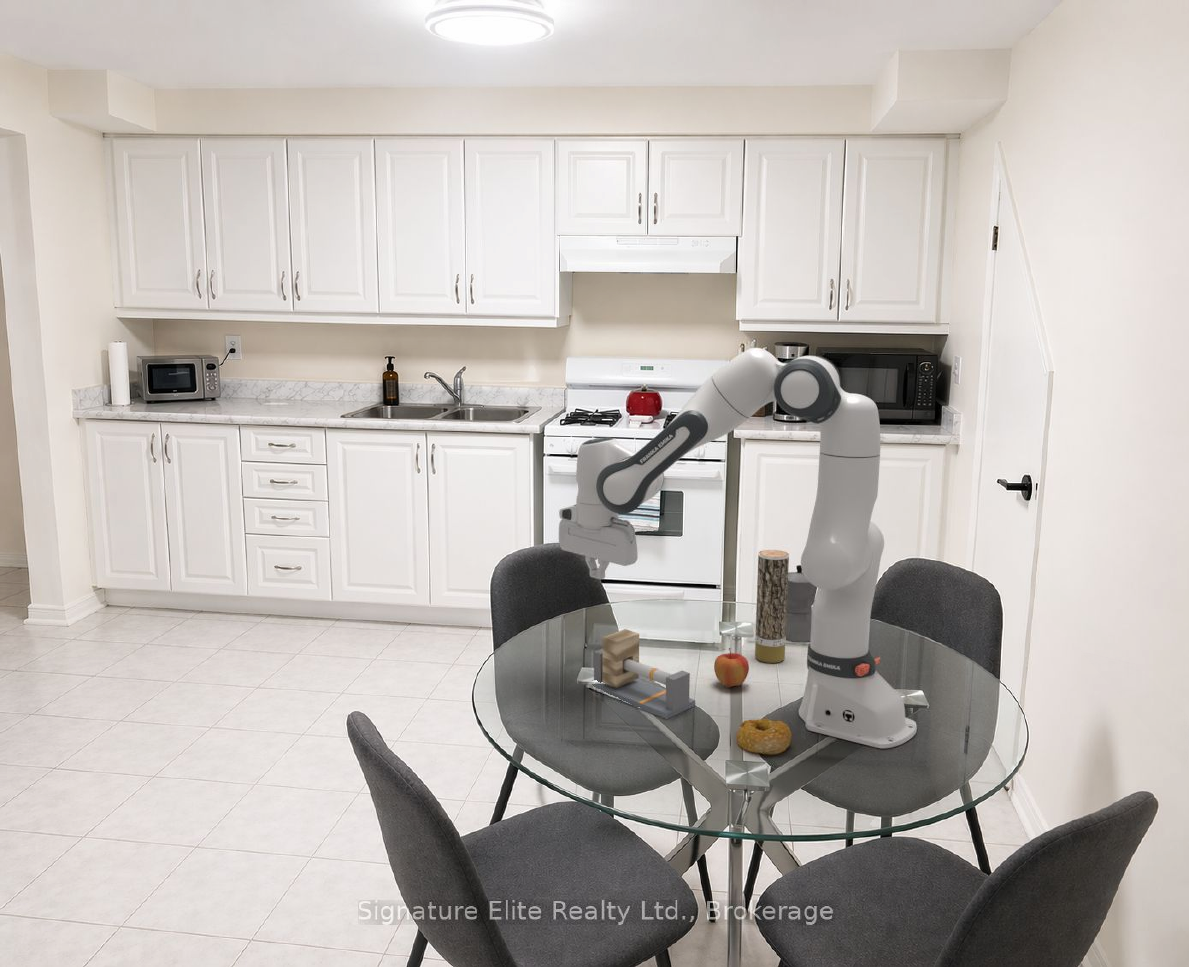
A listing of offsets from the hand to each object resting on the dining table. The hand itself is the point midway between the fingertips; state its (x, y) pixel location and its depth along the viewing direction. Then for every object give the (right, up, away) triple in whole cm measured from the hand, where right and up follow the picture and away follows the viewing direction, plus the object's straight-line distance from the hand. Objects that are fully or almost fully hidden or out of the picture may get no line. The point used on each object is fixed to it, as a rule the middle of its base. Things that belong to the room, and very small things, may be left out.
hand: (597, 577), depth 202 cm
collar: (+5, -22, -1) cm, 22 cm away
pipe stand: (+9, -24, -4) cm, 26 cm away
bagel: (+31, -29, -25) cm, 49 cm away
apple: (+29, -24, +2) cm, 37 cm away
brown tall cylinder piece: (+40, -21, +17) cm, 48 cm away
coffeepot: (+50, -18, +32) cm, 62 cm away
